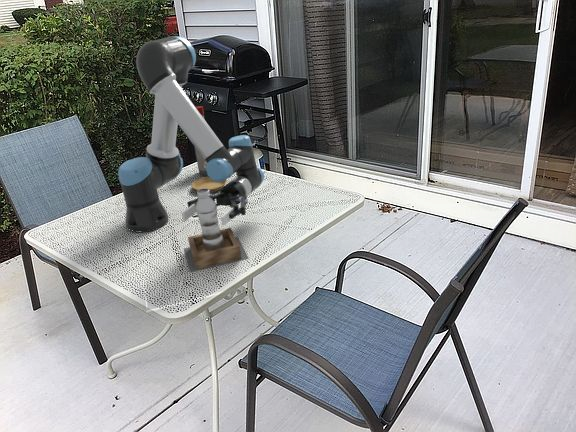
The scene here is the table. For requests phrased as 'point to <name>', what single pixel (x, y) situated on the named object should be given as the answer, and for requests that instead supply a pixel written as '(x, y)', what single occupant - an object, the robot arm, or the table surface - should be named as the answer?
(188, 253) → the mat
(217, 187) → the plant saucer
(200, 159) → the liquor
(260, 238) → the table surface
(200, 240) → the wooden tray
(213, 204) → the plastic bottle
